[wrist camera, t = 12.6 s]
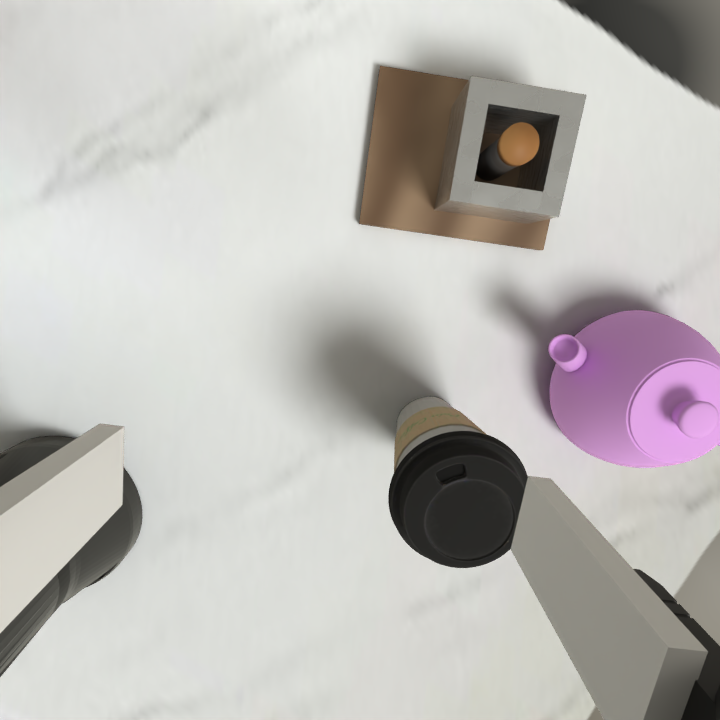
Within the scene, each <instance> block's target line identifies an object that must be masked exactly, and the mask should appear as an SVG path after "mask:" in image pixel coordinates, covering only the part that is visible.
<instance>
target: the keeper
mask: <svg viewBox="0 0 720 720" xmlns="http://www.w3.org/2000/svg"><path fill="white" fill-rule="evenodd" d="M467 82H468V80H465V79H459V78H453V77H446V76H440V75H434V74H428V73H422V72H415V71H409V70H403V69H397V68H391V67H384V66H380V70H379V77H378V85H377V93H376V100H375V108H374V115H373V123H372V130H371V138H370V146H369V153H368V161H367V168H366V176H365V183H364V191H363V199H362V206H361V214H360V221H359V224H363V225H370V226H376V227H383V228H390V229H397V230H404V231H411V232H418V233H425V234H432V235H438V236H445V237H452V238H459V239H466V240H473V241H480V242H487V243H493V244H500V245H507V246H514V247H521V248H528V249H535V250H543V249H544V244H545V240H546V235H547V231H548V226H549V222H550V219H547V220H542V221H538V222H533V223H529V224H524V223H518V222H511V221H504V220H498V219H491V218H485V217H478V216H471V215H465V214H458V213H451V212H445V211H438V210H434V209H435V203H436V197H437V191H438V185H439V179H440V174H441V168H442V162H443V156H444V150H445V144H446V138H447V132H448V126H449V120H450V114H451V108H452V105H453V104H454V102H455V101H456V99H457V98H458V96H459V94H460V93H461V91H462V90H463V88H464V86H465V85H466V83H467ZM538 148H539V135H538V133H537V131H536V129H535V128H534V127H533V126H532V125H530V124H528V123H524V122H519V123H515V124H513V125H511V126H510V127H509V128H507V129H506V130H505V131H504V132H503V133H502V134H501V135H498V134H491V133H485V132H483V137H482V142H481V147H480V153H479V158H478V164H477V169H476V174H475V180H474V181H476V182H483V183H489V184H496V185H502V186H509V187H515V188H517V183H518V178H519V173H520V168H521V165H523V164H525V163H527V162H528V161H530V160H531V159H532V158H533V157H534V156H535V155H536V153H537V151H538Z"/></svg>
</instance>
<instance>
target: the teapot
mask: <svg viewBox="0 0 720 720" xmlns="http://www.w3.org/2000/svg"><path fill="white" fill-rule="evenodd" d="M548 353H549V355H550V357H551V358H552V359H553V360H554V361H555V362H556V364H555V367H554V370H553V372H552V377H551V381H550V390H549V392H550V404H551V409H552V413H553V416H554V419H555V421H556V423H557V425H558V427H559V428H560V430H561V431H562V433H563V434H564V435H565V436H566V437H567V438H568V439H569V440H570V441H571V442H572V443H573V444H575V445H576V446H577V447H579V448H580V449H581V450H583V451H585V452H586V453H588V454H590V455H592V456H594V457H597V458H599V459H602V460H604V461H607V462H610V463H614V464H617V465H622V466H629V467H637V468H650V467H661V466H669V465H676V464H680V463H684V462H687V461H690V460H693V459H696V458H698V457H700V456H702V455H704V454H706V453H707V452H709V451H710V450H711V449H713V448H714V447H715V446H716V445H719V446H720V355H719V353H718V352H717V350H716V349H715V348H714V347H713V346H712V344H711V343H710V342H709V341H708V340H706V339H705V338H704V337H703V336H702V335H701V334H700V333H699V332H697V331H696V330H694V329H692V328H691V327H689V326H688V325H686V324H685V323H683V322H680V321H678V320H676V319H674V318H672V317H669V316H667V315H663V314H660V313H656V312H651V311H644V310H629V311H621V312H618V313H614V314H610V315H608V316H605V317H603V318H600V319H598V320H596V321H595V322H593V323H591V324H589V325H588V326H586V327H585V328H584V329H582V330H581V331H580V332H579V333H578V334H576V335H575V336H572V335H569V334H560V335H557V336H555V337H554V338H553V339H552V340H551V341H550V343H549V345H548Z"/></svg>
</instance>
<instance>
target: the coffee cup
mask: <svg viewBox="0 0 720 720" xmlns="http://www.w3.org/2000/svg"><path fill="white" fill-rule="evenodd" d="M527 479H528V476H527V473H526V471H525V468H524V466H523V464H522V462H521V461H520V459H519V458H518V456H517V455H516V454H515V453H514V452H513V451H512V450H511V449H510V448H509V447H508V446H507V445H505V444H504V443H503V442H501V441H499V440H498V439H496V438H494V437H492V436H489V435H487V434H486V433H484V432H483V431H482V430H481V429H480V428H479V427H477V426H476V425H475V424H474V423H473V422H472V421H470V420H469V419H468V418H467V417H466V416H465V415H463V414H462V413H461V412H459V411H457V410H455V409H454V408H453V407H452V406H450V405H449V404H448V403H447V402H446V401H444V400H442V399H440V398H437V397H423V398H419V399H416V400H414V401H412V402H410V403H409V404H408V405H406V406H405V407H404V408H403V410H402V411H401V412H400V414H399V416H398V420H397V434H396V438H395V455H394V475H393V477H392V480H391V484H390V488H389V509H390V514H391V517H392V520H393V522H394V524H395V526H396V528H397V530H398V532H399V533H400V535H401V536H402V538H403V539H404V540H405V542H406V543H407V544H408V545H409V546H410V547H411V548H412V549H414V550H415V551H416V552H418V553H419V554H421V555H423V556H424V557H426V558H429V559H430V560H432V561H434V562H436V563H439V564H441V565H445V566H449V567H455V568H470V567H476V566H481V565H484V564H487V563H489V562H492V561H494V560H496V559H498V558H499V557H501V556H502V555H504V554H505V553H506V552H507V551H509V550H510V549H511V546H512V542H513V537H514V533H515V529H516V525H517V521H518V517H519V512H520V508H521V504H522V500H523V496H524V491H525V487H526V483H527Z"/></svg>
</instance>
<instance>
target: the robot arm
mask: <svg viewBox="0 0 720 720" xmlns="http://www.w3.org/2000/svg"><path fill="white" fill-rule="evenodd" d="M123 463H124V426H115V425H107V424H98V425H97V426H95V427H94V428H92V429H91V430H89V431H87V432H86V433H84V434H83V435H81V436H80V437H78V438H76V439H74V438H69V437H61V436H45V437H38V438H33V439H30V440H27V441H24V442H22V443H19V444H17V445H15V446H14V447H12V448H10V449H8V450H6V451H5V452H3V453H1V454H0V677H1V676H2V674H3V673H4V672H5V671H6V670H7V668H8V667H9V666H10V665H11V664H12V662H13V661H14V660H15V659H16V658H17V656H18V655H19V654H20V653H21V651H22V650H23V649H24V648H25V647H26V645H27V644H28V643H29V642H30V641H31V639H32V638H33V637H34V636H35V635H36V633H37V632H38V631H39V630H40V628H41V627H42V626H43V625H44V624H45V622H46V621H47V620H48V619H49V618H50V617H51V615H52V614H53V613H54V612H55V611H56V610H57V608H58V607H59V606H60V605H61V604H62V603H64V602H66V601H67V600H69V599H70V598H72V597H73V596H74V595H76V594H77V593H78V592H79V591H81V590H82V589H84V588H85V587H88V586H90V585H92V584H94V583H96V582H98V581H100V580H101V579H103V578H104V577H106V576H107V575H108V574H110V573H111V572H112V571H113V570H114V569H115V568H116V567H117V566H118V565H119V564H120V563H121V561H122V560H123V559H124V558H125V556H126V555H127V554H128V552H129V551H130V550H131V548H132V547H133V546H134V544H135V542H136V540H137V538H138V535H139V533H140V529H141V524H142V506H141V501H140V497H139V494H138V491H137V489H136V486H135V484H134V483H133V481H132V479H131V477H130V476H129V475H128V473H127V472H126V471H125V469H124V468H123ZM511 551H512V553H513V554H514V556H515V558H516V560H517V562H518V564H519V565H520V567H521V569H522V571H523V573H524V575H525V576H526V578H527V580H528V582H529V584H530V586H531V587H532V589H533V591H534V593H535V595H536V596H537V598H538V600H539V602H540V604H541V606H542V607H543V609H544V611H545V613H546V615H547V617H548V618H549V620H550V622H551V624H552V626H553V628H554V629H555V631H556V633H557V635H558V637H559V639H560V640H561V642H562V644H563V646H564V648H565V649H566V651H567V653H568V655H569V657H570V659H571V660H572V662H573V664H574V666H575V668H576V670H577V671H578V673H579V675H580V677H581V679H582V681H583V682H584V684H585V686H586V688H587V690H588V692H589V693H590V695H591V697H592V699H593V701H594V702H595V704H596V706H597V708H598V710H599V712H600V713H601V715H602V717H603V719H604V720H720V646H719V645H718V644H717V643H716V642H715V641H714V640H713V639H712V638H711V637H710V636H709V635H708V634H707V633H706V631H705V630H704V629H703V628H702V627H701V626H700V625H699V624H698V623H697V622H696V621H695V620H694V619H693V618H690V615H689V614H688V613H687V611H686V610H684V608H683V607H682V606H681V605H680V604H677V601H676V600H675V599H674V598H673V597H672V596H671V595H670V594H669V593H668V592H667V590H666V589H665V588H664V587H663V586H662V585H661V584H659V583H658V582H657V581H655V580H654V579H652V578H651V577H649V576H648V575H647V574H645V573H644V572H642V571H641V570H638V569H633V568H632V567H631V566H630V565H629V564H628V563H627V562H626V561H625V560H624V559H623V558H622V556H621V555H620V554H619V553H618V552H617V551H616V550H615V549H614V548H613V547H612V545H611V544H610V543H609V542H608V541H607V540H606V539H605V538H604V537H603V536H602V534H601V533H600V532H599V531H598V530H597V529H596V528H595V527H594V526H593V525H592V523H591V522H590V521H589V520H588V519H587V518H586V517H585V516H584V515H583V514H582V512H581V511H580V510H579V509H578V508H577V507H576V506H575V505H574V504H573V503H572V501H571V500H570V499H569V498H568V497H567V496H566V495H565V494H564V493H563V492H562V491H561V489H560V488H559V487H558V486H557V485H556V484H555V483H554V482H553V481H552V480H551V479H549V478H541V477H533V476H528V479H527V483H526V487H525V491H524V496H523V500H522V504H521V508H520V512H519V517H518V521H517V525H516V529H515V533H514V537H513V542H512V546H511Z"/></svg>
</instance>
